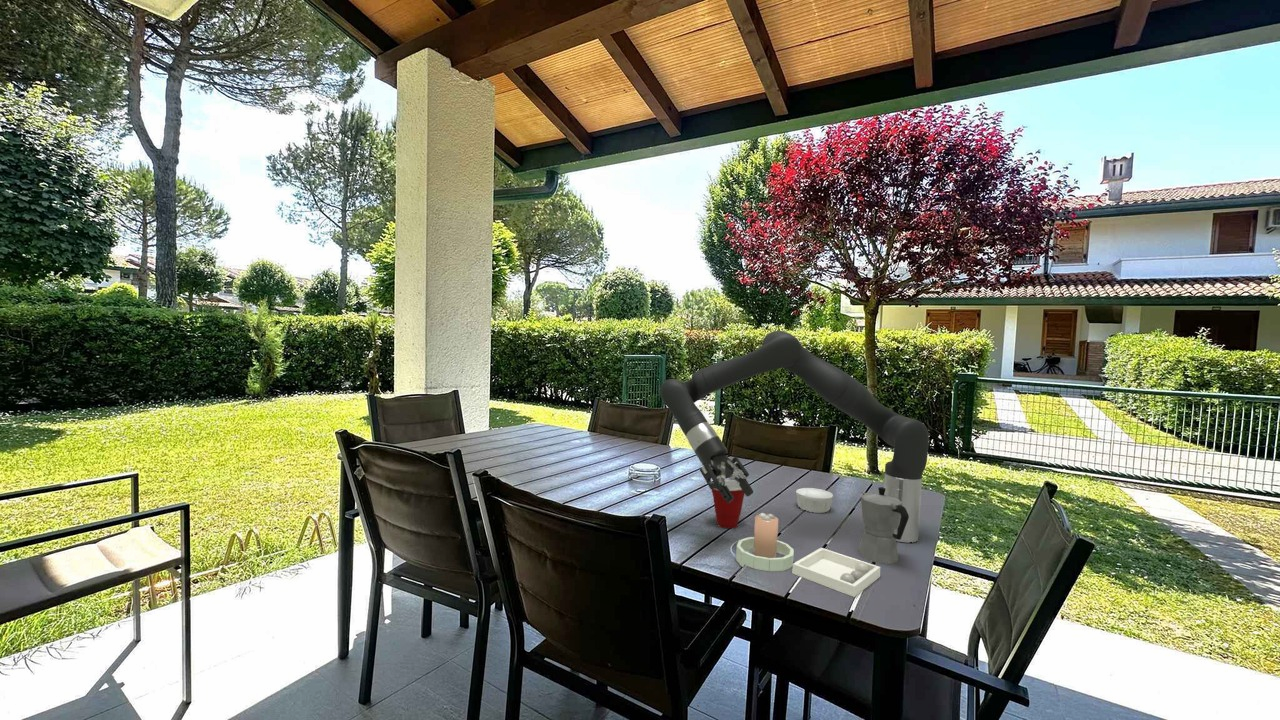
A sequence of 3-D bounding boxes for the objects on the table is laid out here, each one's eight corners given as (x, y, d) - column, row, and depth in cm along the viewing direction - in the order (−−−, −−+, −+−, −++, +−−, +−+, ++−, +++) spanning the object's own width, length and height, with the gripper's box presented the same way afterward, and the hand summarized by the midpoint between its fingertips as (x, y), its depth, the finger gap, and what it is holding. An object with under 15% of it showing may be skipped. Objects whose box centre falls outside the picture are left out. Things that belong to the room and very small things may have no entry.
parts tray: (820, 559, 127) (821, 544, 127) (879, 580, 117) (880, 563, 117) (792, 576, 117) (792, 560, 117) (854, 600, 107) (855, 582, 107)
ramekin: (789, 503, 171) (790, 487, 171) (822, 503, 172) (823, 487, 172) (804, 514, 160) (804, 498, 160) (838, 514, 161) (839, 498, 161)
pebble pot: (754, 553, 128) (756, 509, 128) (777, 557, 126) (779, 512, 126) (751, 561, 123) (753, 516, 123) (774, 565, 121) (777, 519, 121)
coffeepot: (844, 549, 134) (848, 480, 133) (875, 547, 136) (879, 479, 135) (886, 576, 119) (891, 499, 118) (920, 573, 121) (925, 497, 121)
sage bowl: (741, 547, 133) (742, 533, 133) (794, 556, 128) (795, 542, 128) (732, 567, 121) (733, 553, 120) (790, 578, 116) (791, 563, 116)
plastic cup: (719, 515, 156) (721, 476, 156) (752, 524, 149) (754, 483, 149) (700, 524, 148) (701, 483, 147) (733, 535, 141) (735, 491, 140)
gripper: (697, 438, 129) (734, 495, 122) (730, 432, 139) (766, 484, 132) (680, 455, 133) (714, 511, 126) (713, 448, 143) (747, 500, 136)
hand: (741, 497), depth 129 cm, fingers open, 8 cm apart
